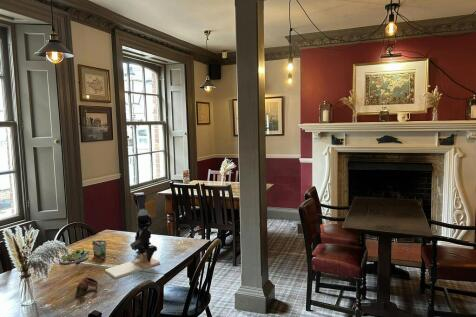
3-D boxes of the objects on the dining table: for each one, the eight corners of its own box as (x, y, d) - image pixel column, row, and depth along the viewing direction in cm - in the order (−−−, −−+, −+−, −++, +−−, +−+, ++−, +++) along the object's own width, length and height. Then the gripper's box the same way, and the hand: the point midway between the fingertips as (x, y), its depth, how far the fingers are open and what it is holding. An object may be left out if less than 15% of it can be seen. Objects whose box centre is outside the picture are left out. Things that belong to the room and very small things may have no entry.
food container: (111, 258, 218) (110, 242, 217) (101, 260, 213) (100, 245, 212) (102, 253, 226) (101, 238, 225) (93, 256, 222) (92, 241, 221)
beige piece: (131, 263, 208) (131, 253, 208) (148, 257, 216) (147, 248, 215) (143, 269, 198) (142, 259, 198) (159, 263, 206) (159, 253, 205)
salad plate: (91, 262, 213) (91, 254, 212) (59, 268, 205) (59, 260, 204) (89, 252, 230) (88, 245, 229) (59, 257, 222) (58, 250, 221)
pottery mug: (76, 291, 175) (84, 275, 177) (94, 297, 176) (101, 281, 178) (70, 295, 163) (78, 278, 165) (89, 303, 164) (97, 286, 166)
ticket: (105, 271, 197) (104, 269, 197) (131, 263, 208) (130, 261, 208) (115, 278, 187) (115, 276, 187) (142, 269, 198) (142, 267, 198)
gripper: (124, 234, 207) (125, 259, 208) (139, 241, 193) (140, 268, 195) (141, 230, 214) (142, 254, 216) (156, 236, 201) (158, 262, 202)
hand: (145, 260), depth 207 cm, fingers open, 8 cm apart
